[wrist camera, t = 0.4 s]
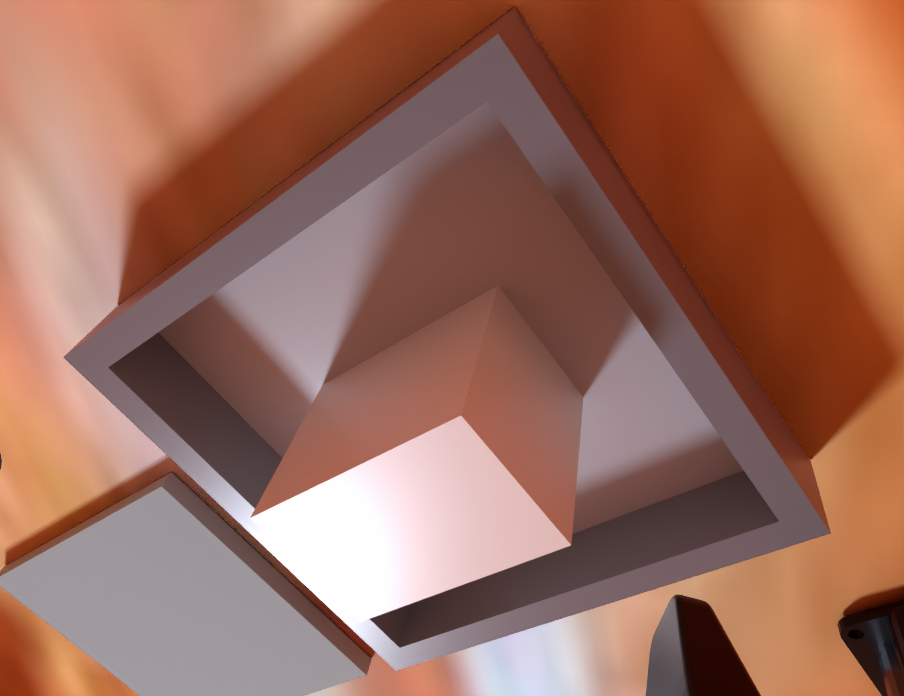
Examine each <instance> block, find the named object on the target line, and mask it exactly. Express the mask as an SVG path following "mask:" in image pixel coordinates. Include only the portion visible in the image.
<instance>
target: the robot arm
mask: <svg viewBox="0 0 904 696" xmlns="http://www.w3.org/2000/svg"><path fill="white" fill-rule="evenodd" d="M1 463H2V459H1V454H0V469H1ZM838 628H839V632H840V635H841V638H842V640H843V641H844V642H845V644H846V645H847V647H848V648H849V649H850V651H851V652H852V654H853V655H854V656H855V658H856V659H857V661H858V662H859V664H860V665H861V666H862V668H863V669H864V671H865V672H866V673H867V675H868V676H869V678H870V679H871V680H872V682H873V683H874V685H875V686H876V688H877V689H878V690H879V692H880V693H881V695H882V696H904V601H901V602H897V603H894V604H890V605H886V606H882V607H879V608H875V609H871V610H867V611H864V612H860V613H856V614H852V615H849V616H846V617H843V618H842V619H841V620H840V621H839V622H838ZM646 696H761V695H760V693H759V691H758V690H757V688H756V686H755V684H754V683H753V681H752V679H751V677H750V675H749V674H748V672H747V670H746V668H745V666H744V665H743V663H742V661H741V659H740V658H739V656H738V654H737V652H736V650H735V649H734V647H733V645H732V643H731V641H730V640H729V638H728V636H727V634H726V632H725V631H724V629H723V627H722V625H721V624H720V622H719V620H718V618H717V616H716V615H715V613H714V611H713V609H712V608H711V606H710V605H709V604H708V603H706V602H705V601H702V600H698V599H694V598H691V597H687V596H683V595H675V596H674V597H673V598H672V599H671V600H670V602H669V604H668V606H667V608H666V610H665V612H664V614H663V617H662V619H661V621H660V623H659V625H658V627H657V629H656V631H655V634H654V636H653V640H652V644H651V649H650V657H649V668H648V679H647V690H646Z"/></svg>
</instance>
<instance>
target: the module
mask: <svg viewBox="0 0 904 696" xmlns="http://www.w3.org/2000/svg"><path fill="white" fill-rule="evenodd" d="M583 398H584V397H583V396H582V395H581V393H580V392H579V391H578V389H577V388H576V387H575V385H574V384H573V383H572V381H571V380H570V379H569V378H568V376H567V375H566V374H565V372H564V371H563V370H562V368H561V367H560V366H559V364H558V363H557V362H556V361H555V359H554V358H553V357H552V355H551V354H550V353H549V351H548V350H547V349H546V347H545V346H544V345H543V343H542V342H541V341H540V340H539V338H538V337H537V336H536V334H535V333H534V332H533V330H532V329H531V328H530V326H529V325H528V324H527V323H526V321H525V320H524V319H523V317H522V316H521V315H520V313H519V312H518V311H517V309H516V308H515V307H514V305H513V304H512V303H511V302H510V300H509V299H508V298H507V296H506V295H505V294H504V292H503V291H502V290H501V288H500V287H499V286H496V287H494V288H492V289H491V290H489V291H487V292H485V293H484V294H482V295H480V296H478V297H477V298H475V299H473V300H471V301H470V302H468V303H466V304H464V305H462V306H461V307H459V308H457V309H455V310H454V311H452V312H450V313H448V314H447V315H445V316H443V317H441V318H440V319H438V320H436V321H434V322H432V323H431V324H429V325H427V326H425V327H424V328H422V329H420V330H418V331H417V332H415V333H413V334H411V335H410V336H408V337H406V338H404V339H402V340H401V341H399V342H397V343H395V344H394V345H392V346H390V347H388V348H387V349H385V350H383V351H381V352H379V353H378V354H376V355H374V356H372V357H371V358H369V359H367V360H365V361H364V362H362V363H360V364H358V365H357V366H355V367H353V368H351V369H349V370H348V371H346V372H344V373H342V374H341V375H339V376H337V377H335V378H334V379H332V380H330V381H328V382H327V383H325V384H323V385H322V387H321V389H320V391H319V392H318V394H317V396H316V398H315V400H314V402H313V403H312V405H311V407H310V409H309V411H308V413H307V414H306V416H305V418H304V420H303V422H302V424H301V425H300V427H299V429H298V431H297V433H296V435H295V436H294V438H293V440H292V442H291V444H290V446H289V447H288V449H287V451H286V453H285V455H284V457H283V458H282V460H281V462H280V464H279V466H278V468H277V470H276V471H275V473H274V475H273V477H272V479H271V481H270V482H269V484H268V486H267V488H266V490H265V492H264V493H263V495H262V497H261V499H260V501H259V503H258V504H257V506H256V508H255V510H254V512H253V514H252V515H251V517H250V519H251V520H252V521H253V522H254V523H255V524H257V525H258V526H259V527H260V528H261V529H262V530H263V531H264V532H265V533H266V534H267V535H268V536H269V537H270V538H271V539H272V540H273V541H274V542H275V543H276V544H277V545H279V546H280V547H281V548H282V549H283V550H284V551H285V552H286V553H287V554H288V555H289V556H290V557H291V558H292V559H293V560H294V561H295V562H296V563H297V564H298V565H300V566H301V567H302V568H303V569H304V570H305V571H306V572H307V573H308V574H309V575H310V576H311V577H312V578H313V579H314V580H315V581H316V582H317V583H318V584H319V585H321V586H322V587H323V588H324V589H325V590H326V591H327V592H328V593H329V594H330V595H331V596H332V597H333V598H334V599H335V600H336V601H337V602H338V603H339V604H340V605H342V606H343V607H344V608H345V609H346V610H347V611H348V612H349V613H350V614H351V615H352V616H353V617H354V618H355V619H356V620H357V621H358V622H362V621H365V620H367V619H370V618H373V617H376V616H378V615H381V614H384V613H387V612H389V611H392V610H395V609H398V608H400V607H403V606H406V605H409V604H411V603H414V602H417V601H420V600H422V599H425V598H428V597H431V596H433V595H436V594H439V593H442V592H444V591H447V590H450V589H453V588H455V587H458V586H461V585H464V584H466V583H469V582H472V581H475V580H477V579H480V578H483V577H486V576H488V575H491V574H494V573H497V572H499V571H502V570H505V569H508V568H510V567H513V566H516V565H519V564H521V563H524V562H527V561H530V560H532V559H535V558H538V557H541V556H543V555H546V554H549V553H552V552H554V551H557V550H560V549H563V548H565V547H568V546H571V543H572V531H573V519H574V507H575V495H576V483H577V471H578V458H579V446H580V434H581V422H582V410H583Z"/></svg>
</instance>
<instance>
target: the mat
mask: <svg viewBox="0 0 904 696" xmlns="http://www.w3.org/2000/svg"><path fill="white" fill-rule="evenodd" d="M0 586H1V587H2V588H3V589H4V590H6V591H7V592H8V593H10V594H11V595H12V596H13V597H15V598H16V599H17V600H18V601H20V602H21V603H22V604H24V605H25V606H26V607H27V608H29V609H30V610H31V611H32V612H34V613H35V614H36V615H38V616H39V617H40V618H41V619H43V620H44V621H45V622H46V623H48V624H49V625H50V626H52V627H53V628H54V629H55V630H57V631H58V632H59V633H61V634H62V635H63V636H64V637H66V638H67V639H68V640H69V641H71V642H72V643H73V644H75V645H76V646H77V647H78V648H80V649H81V650H82V651H83V652H85V653H86V654H87V655H89V656H90V657H91V658H92V659H94V660H95V661H96V662H98V663H99V664H100V665H101V666H103V667H104V668H105V669H106V670H108V671H109V672H110V673H112V674H113V675H114V676H115V677H117V678H118V679H119V680H120V681H122V682H123V683H124V684H126V685H127V686H128V687H129V688H131V689H132V690H133V691H134V692H136V693H137V694H138V695H140V696H304V695H307V694H310V693H313V692H316V691H319V690H322V689H326V688H329V687H332V686H335V685H338V684H341V683H344V682H347V681H351V680H354V679H357V678H360V677H363V676H366V675H367V672H368V669H369V666H370V663H371V658H370V657H369V656H368V655H367V654H366V653H365V652H364V651H363V650H361V649H360V648H359V647H358V646H357V645H356V644H355V643H354V642H353V641H352V640H351V639H350V638H349V637H348V636H347V635H345V634H344V633H343V632H342V631H341V630H340V629H339V628H338V627H337V626H336V625H335V624H334V623H333V622H332V621H330V620H329V619H328V618H327V617H326V616H325V615H324V614H323V613H322V612H321V611H320V610H319V609H318V608H317V607H316V606H314V605H313V604H312V603H311V602H310V601H309V600H308V599H307V598H306V597H305V596H304V595H303V594H302V593H301V592H299V591H298V590H297V589H296V588H295V587H294V586H293V585H292V584H291V583H290V582H289V581H288V580H287V579H286V578H285V577H283V576H282V575H281V574H280V573H279V572H278V571H277V570H276V569H275V568H274V567H273V566H272V565H271V564H270V563H269V562H267V561H266V560H265V559H264V558H263V557H262V556H261V555H260V554H259V553H258V552H257V551H256V550H255V549H254V548H252V547H251V546H250V545H249V544H248V543H247V542H246V541H245V540H244V539H243V538H242V537H241V536H240V535H239V534H238V533H236V532H235V531H234V530H233V529H232V528H231V527H230V526H229V525H228V524H227V523H226V522H225V521H224V520H223V519H221V518H220V517H219V516H218V515H217V514H216V513H215V512H214V511H213V510H212V509H211V508H210V507H209V506H208V505H207V504H205V503H204V502H203V501H202V500H201V499H200V498H199V497H198V496H197V495H196V494H195V493H194V492H193V491H192V490H190V489H189V488H188V487H187V486H186V485H185V484H184V483H183V482H182V481H181V480H180V479H179V478H178V477H177V476H176V475H174V474H173V473H172V472H171V473H169V474H167V475H165V476H164V477H162V478H160V479H158V480H157V481H155V482H153V483H151V484H150V485H148V486H146V487H144V488H142V489H141V490H139V491H137V492H135V493H134V494H132V495H130V496H128V497H127V498H125V499H123V500H121V501H119V502H118V503H116V504H114V505H112V506H111V507H109V508H107V509H105V510H103V511H102V512H100V513H98V514H96V515H95V516H93V517H91V518H89V519H88V520H86V521H84V522H82V523H80V524H79V525H77V526H75V527H73V528H72V529H70V530H68V531H66V532H65V533H63V534H61V535H59V536H57V537H56V538H54V539H52V540H50V541H49V542H47V543H45V544H43V545H42V546H40V547H38V548H36V549H34V550H33V551H31V552H29V553H27V554H26V555H24V556H22V557H20V558H18V559H17V560H15V561H13V562H11V563H10V564H8V565H6V566H4V568H3V569H2V570H1V571H0Z"/></svg>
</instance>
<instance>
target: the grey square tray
mask: <svg viewBox="0 0 904 696" xmlns="http://www.w3.org/2000/svg"><path fill="white" fill-rule="evenodd" d="M496 286H499V287H500V288H501V290H502V291H503V292H504V294H505V295H506V296H507V298H508V299H509V300H510V302H511V303H512V304H513V305H514V307H515V308H516V309H517V311H518V312H519V313H520V315H521V316H522V317H523V319H524V320H525V321H526V323H527V324H528V325H529V326H530V328H531V329H532V330H533V332H534V333H535V334H536V336H537V337H538V338H539V340H540V341H541V342H542V343H543V345H544V346H545V347H546V349H547V350H548V351H549V353H550V354H551V355H552V357H553V358H554V359H555V361H556V362H557V363H558V364H559V366H560V367H561V368H562V370H563V371H564V372H565V374H566V375H567V376H568V378H569V379H570V380H571V381H572V383H573V384H574V385H575V387H576V388H577V389H578V391H579V392H580V393H581V395H582V396H583V397H584V398H583V410H582V422H581V434H580V446H579V458H578V471H577V483H576V495H575V507H574V519H573V531H572V543H571V546H568V547H565V548H563V549H560V550H557V551H554V552H552V553H549V554H546V555H543V556H541V557H538V558H535V559H532V560H530V561H527V562H524V563H521V564H519V565H516V566H513V567H510V568H508V569H505V570H502V571H499V572H497V573H494V574H491V575H488V576H486V577H483V578H480V579H477V580H475V581H472V582H469V583H466V584H464V585H461V586H458V587H455V588H453V589H450V590H447V591H444V592H442V593H439V594H436V595H433V596H431V597H428V598H425V599H422V600H420V601H417V602H414V603H411V604H409V605H406V606H403V607H400V608H398V609H395V610H392V611H389V612H387V613H384V614H381V615H378V616H376V617H373V618H370V619H367V620H365V621H362V622H358V621H357V620H356V619H355V618H354V617H353V616H352V615H351V614H350V613H349V612H348V611H347V610H346V609H345V608H344V607H343V606H342V605H340V604H339V603H338V602H337V601H336V600H335V599H334V598H333V597H332V596H331V595H330V594H329V593H328V592H327V591H326V590H325V589H324V588H323V587H322V586H321V585H319V584H318V583H317V582H316V581H315V580H314V579H313V578H312V577H311V576H310V575H309V574H308V573H307V572H306V571H305V570H304V569H303V568H302V567H301V566H300V565H298V564H297V563H296V562H295V561H294V560H293V559H292V558H291V557H290V556H289V555H288V554H287V553H286V552H285V551H284V550H283V549H282V548H281V547H280V546H279V545H277V544H276V543H275V542H274V541H273V540H272V539H271V538H270V537H269V536H268V535H267V534H266V533H265V532H264V531H263V530H262V529H261V528H260V527H259V526H258V525H257V524H255V523H254V522H253V521H252V520H251V519H250V517H251V515H252V514H253V512H254V510H255V508H256V506H257V504H258V503H259V501H260V499H261V497H262V495H263V493H264V492H265V490H266V488H267V486H268V484H269V482H270V481H271V479H272V477H273V475H274V473H275V471H276V470H277V468H278V466H279V464H280V462H281V460H282V458H283V457H284V455H285V453H286V451H287V449H288V447H289V446H290V444H291V442H292V440H293V438H294V436H295V435H296V433H297V431H298V429H299V427H300V425H301V424H302V422H303V420H304V418H305V416H306V414H307V413H308V411H309V409H310V407H311V405H312V403H313V402H314V400H315V398H316V396H317V394H318V392H319V391H320V389H321V387H322V385H323V384H325V383H327V382H328V381H330V380H332V379H334V378H335V377H337V376H339V375H341V374H342V373H344V372H346V371H348V370H349V369H351V368H353V367H355V366H357V365H358V364H360V363H362V362H364V361H365V360H367V359H369V358H371V357H372V356H374V355H376V354H378V353H379V352H381V351H383V350H385V349H387V348H388V347H390V346H392V345H394V344H395V343H397V342H399V341H401V340H402V339H404V338H406V337H408V336H410V335H411V334H413V333H415V332H417V331H418V330H420V329H422V328H424V327H425V326H427V325H429V324H431V323H432V322H434V321H436V320H438V319H440V318H441V317H443V316H445V315H447V314H448V313H450V312H452V311H454V310H455V309H457V308H459V307H461V306H462V305H464V304H466V303H468V302H470V301H471V300H473V299H475V298H477V297H478V296H480V295H482V294H484V293H485V292H487V291H489V290H491V289H492V288H494V287H496ZM64 358H65V359H66V360H67V361H68V362H69V363H70V364H71V365H72V366H73V367H74V368H75V369H76V370H77V371H78V372H80V373H81V374H82V375H83V376H84V377H85V378H86V379H87V380H88V381H89V382H90V383H91V384H92V385H93V386H94V387H95V388H96V389H98V390H99V391H100V392H101V393H102V394H103V395H104V396H105V397H106V398H107V399H108V400H109V401H110V402H111V403H112V404H113V405H115V406H116V407H117V408H118V409H119V410H120V411H121V412H122V413H123V414H124V415H125V416H126V417H127V418H128V419H129V420H130V421H131V422H133V423H134V424H135V425H136V426H137V427H138V428H139V429H140V430H141V431H142V432H143V433H144V434H145V435H146V436H147V437H148V438H149V439H151V440H152V441H153V442H154V443H155V444H156V445H157V446H158V447H159V448H160V449H161V450H162V451H163V452H164V453H165V454H166V455H168V456H169V457H170V458H171V459H172V460H173V461H174V462H175V463H176V464H177V465H178V466H179V467H180V468H181V469H182V470H183V471H184V472H186V473H187V474H188V475H189V476H190V477H191V478H192V479H193V480H194V481H195V482H196V483H197V484H198V485H199V486H200V487H201V488H202V489H204V490H205V491H206V492H207V493H208V494H209V495H210V496H211V497H212V498H213V499H214V500H215V501H216V502H217V503H218V504H219V505H221V506H222V507H223V508H224V509H225V510H226V511H227V512H228V513H229V514H230V515H231V516H232V517H233V518H234V519H235V520H236V521H237V522H239V523H240V524H241V525H242V526H243V527H244V528H245V529H246V530H247V531H248V532H249V533H250V534H251V535H252V536H253V537H254V538H256V539H257V540H258V541H259V542H260V543H261V544H262V545H263V546H264V547H265V548H266V549H267V550H268V551H269V552H270V553H271V554H272V555H274V556H275V557H276V558H277V559H278V560H279V561H280V562H281V563H282V564H283V565H284V566H285V567H286V568H287V569H288V570H289V571H290V572H292V573H293V574H294V575H295V576H296V577H297V578H298V579H299V580H300V581H301V582H302V583H303V584H304V585H305V586H306V587H307V588H309V589H310V590H311V591H312V592H313V593H314V594H315V595H316V596H317V597H318V598H319V599H320V600H321V601H322V602H323V603H324V604H325V605H327V606H328V607H329V608H330V609H331V610H332V611H333V612H334V613H335V614H336V615H337V616H338V617H339V618H340V619H341V620H342V621H343V622H345V623H346V624H347V625H348V626H349V627H350V628H351V629H352V630H353V631H354V632H355V633H356V634H357V635H358V636H359V637H360V638H362V639H363V640H364V641H365V642H366V643H367V644H368V645H369V646H370V647H371V648H372V649H373V650H374V651H375V652H376V653H377V654H378V655H380V656H381V657H382V658H383V659H384V660H385V661H386V662H387V663H388V664H389V665H390V666H391V667H392V668H393V669H394V670H395V671H397V670H400V669H403V668H406V667H410V666H413V665H416V664H419V663H422V662H425V661H429V660H432V659H435V658H438V657H441V656H444V655H448V654H451V653H454V652H457V651H460V650H463V649H467V648H470V647H473V646H476V645H479V644H482V643H485V642H489V641H492V640H495V639H498V638H501V637H504V636H508V635H511V634H514V633H517V632H520V631H523V630H527V629H530V628H533V627H536V626H539V625H542V624H546V623H549V622H552V621H555V620H558V619H561V618H565V617H568V616H571V615H574V614H577V613H580V612H583V611H587V610H590V609H593V608H596V607H599V606H602V605H606V604H609V603H612V602H615V601H618V600H621V599H625V598H628V597H631V596H634V595H637V594H640V593H644V592H647V591H650V590H653V589H656V588H659V587H663V586H666V585H669V584H672V583H675V582H678V581H682V580H685V579H688V578H691V577H694V576H697V575H700V574H704V573H707V572H710V571H713V570H716V569H719V568H723V567H726V566H729V565H732V564H735V563H738V562H742V561H745V560H748V559H751V558H754V557H757V556H761V555H764V554H767V553H770V552H773V551H776V550H780V549H783V548H786V547H789V546H792V545H795V544H798V543H802V542H805V541H808V540H811V539H814V538H817V537H821V536H824V535H827V534H830V533H831V532H830V529H829V525H828V522H827V518H826V514H825V511H824V507H823V504H822V500H821V497H820V493H819V489H818V486H817V482H816V479H815V475H814V471H813V468H812V464H811V461H810V460H809V458H808V457H807V455H806V453H805V452H804V450H803V449H802V447H801V446H800V444H799V443H798V441H797V440H796V438H795V436H794V435H793V433H792V432H791V430H790V429H789V427H788V426H787V424H786V423H785V421H784V419H783V418H782V416H781V415H780V413H779V412H778V410H777V409H776V407H775V406H774V404H773V403H772V401H771V399H770V398H769V396H768V395H767V393H766V392H765V390H764V389H763V387H762V386H761V384H760V382H759V381H758V379H757V378H756V376H755V375H754V373H753V372H752V370H751V369H750V367H749V365H748V364H747V362H746V361H745V359H744V358H743V356H742V355H741V353H740V352H739V350H738V349H737V347H736V345H735V344H734V342H733V341H732V339H731V338H730V336H729V335H728V333H727V332H726V330H725V328H724V327H723V325H722V324H721V322H720V321H719V319H718V318H717V316H716V315H715V313H714V311H713V310H712V308H711V307H710V305H709V304H708V302H707V301H706V299H705V298H704V296H703V295H702V293H701V291H700V290H699V288H698V287H697V285H696V284H695V282H694V281H693V279H692V278H691V276H690V274H689V273H688V271H687V270H686V268H685V267H684V265H683V264H682V262H681V261H680V259H679V257H678V256H677V254H676V253H675V251H674V250H673V248H672V247H671V245H670V244H669V242H668V241H667V239H666V237H665V236H664V234H663V233H662V231H661V230H660V228H659V227H658V225H657V224H656V222H655V220H654V219H653V217H652V216H651V214H650V213H649V211H648V210H647V208H646V207H645V205H644V203H643V202H642V200H641V199H640V197H639V196H638V194H637V193H636V191H635V190H634V188H633V187H632V185H631V183H630V182H629V180H628V179H627V177H626V176H625V174H624V173H623V171H622V170H621V168H620V166H619V165H618V163H617V162H616V160H615V159H614V157H613V156H612V154H611V153H610V151H609V149H608V148H607V146H606V145H605V143H604V142H603V140H602V139H601V137H600V136H599V134H598V133H597V131H596V129H595V128H594V126H593V125H592V123H591V122H590V120H589V119H588V117H587V116H586V114H585V112H584V111H583V109H582V108H581V106H580V105H579V103H578V102H577V100H576V99H575V97H574V95H573V94H572V92H571V91H570V89H569V88H568V86H567V85H566V83H565V82H564V80H563V78H562V77H561V75H560V74H559V72H558V71H557V69H556V68H555V66H554V65H553V63H552V62H551V60H550V58H549V57H548V55H547V54H546V52H545V51H544V49H543V48H542V46H541V45H540V43H539V41H538V40H537V38H536V37H535V35H534V34H533V32H532V31H531V29H530V28H529V26H528V24H527V23H526V21H525V20H524V18H523V17H522V15H521V14H520V12H519V11H518V9H517V8H516V6H514V7H513V8H512V9H510V10H509V11H508V12H506V13H505V14H504V15H502V16H501V17H500V18H498V19H497V20H496V21H494V22H493V23H492V24H490V25H489V26H488V27H487V28H485V29H484V30H483V31H481V32H480V33H479V34H477V35H476V36H475V37H473V38H472V39H471V40H469V41H468V42H467V43H465V44H464V45H463V46H461V47H460V48H459V49H457V50H456V51H455V52H453V53H452V54H451V55H449V56H448V57H447V58H445V59H444V60H443V61H441V62H440V63H439V64H437V65H436V66H435V67H434V68H432V69H431V70H430V71H428V72H427V73H426V74H424V75H423V76H422V77H420V78H419V79H418V80H416V81H415V82H414V83H412V84H411V85H410V86H408V87H407V88H406V89H404V90H403V91H402V92H400V93H399V94H398V95H396V96H395V97H394V98H392V99H391V100H390V101H388V102H387V103H386V104H385V105H383V106H382V107H381V108H379V109H378V110H377V111H375V112H374V113H373V114H371V115H370V116H369V117H367V118H366V119H365V120H363V121H362V122H361V123H359V124H358V125H357V126H355V127H354V128H353V129H351V130H350V131H349V132H347V133H346V134H345V135H343V136H342V137H341V138H339V139H338V140H337V141H336V142H334V143H333V144H332V145H330V146H329V147H328V148H326V149H325V150H324V151H322V152H321V153H320V154H318V155H317V156H316V157H314V158H313V159H312V160H310V161H309V162H308V163H306V164H305V165H304V166H302V167H301V168H300V169H298V170H297V171H296V172H294V173H293V174H292V175H290V176H289V177H288V178H287V179H285V180H284V181H283V182H281V183H280V184H279V185H277V186H276V187H275V188H273V189H272V190H271V191H269V192H268V193H267V194H265V195H264V196H263V197H261V198H260V199H259V200H257V201H256V202H255V203H253V204H252V205H251V206H249V207H248V208H247V209H245V210H244V211H243V212H241V213H240V214H239V215H238V216H236V217H235V218H234V219H232V220H231V221H230V222H228V223H227V224H226V225H224V226H223V227H222V228H220V229H219V230H218V231H216V232H215V233H214V234H212V235H211V236H210V237H208V238H207V239H206V240H204V241H203V242H202V243H200V244H199V245H198V246H196V247H195V248H194V249H192V250H191V251H190V252H189V253H187V254H186V255H185V256H183V257H182V258H181V259H179V260H178V261H177V262H175V263H174V264H173V265H171V266H170V267H169V268H167V269H166V270H165V271H163V272H162V273H161V274H159V275H158V276H157V277H155V278H154V279H153V280H151V281H150V282H149V283H147V284H146V285H145V286H143V287H142V288H141V289H140V290H138V291H137V292H136V293H134V294H133V295H132V296H130V297H129V298H128V299H126V300H125V301H124V302H122V303H121V304H120V305H118V306H117V307H116V308H115V309H114V310H113V311H112V312H111V313H110V314H109V315H107V316H106V317H105V318H104V319H103V320H102V321H101V322H100V323H99V324H98V325H97V326H96V327H95V328H94V329H93V330H92V331H91V332H90V333H89V334H87V335H86V336H85V337H84V338H83V339H82V340H81V341H80V342H79V343H78V344H77V345H76V346H75V347H74V348H73V349H72V350H71V351H70V352H69V353H67V354H66V355H65V356H64Z"/></svg>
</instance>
